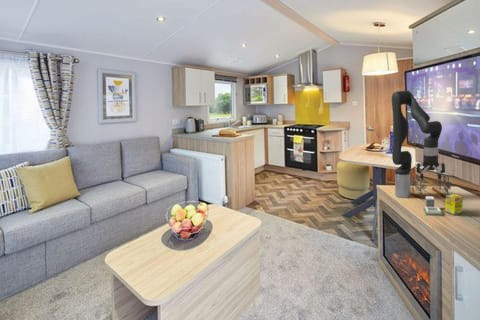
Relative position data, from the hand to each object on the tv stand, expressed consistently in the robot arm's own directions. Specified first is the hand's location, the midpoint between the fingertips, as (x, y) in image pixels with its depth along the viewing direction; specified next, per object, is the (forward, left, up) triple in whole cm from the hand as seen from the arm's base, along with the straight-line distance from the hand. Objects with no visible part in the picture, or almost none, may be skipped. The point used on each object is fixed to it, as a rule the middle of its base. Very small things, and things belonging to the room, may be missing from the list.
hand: (430, 179), depth 167 cm
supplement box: (+5, +11, -20) cm, 23 cm away
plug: (0, 0, -20) cm, 20 cm away
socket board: (+7, 0, -19) cm, 21 cm away
